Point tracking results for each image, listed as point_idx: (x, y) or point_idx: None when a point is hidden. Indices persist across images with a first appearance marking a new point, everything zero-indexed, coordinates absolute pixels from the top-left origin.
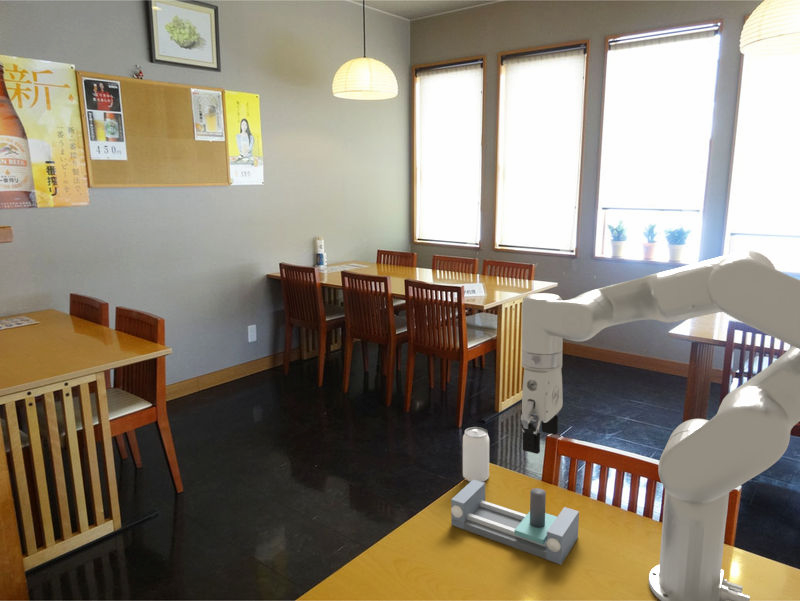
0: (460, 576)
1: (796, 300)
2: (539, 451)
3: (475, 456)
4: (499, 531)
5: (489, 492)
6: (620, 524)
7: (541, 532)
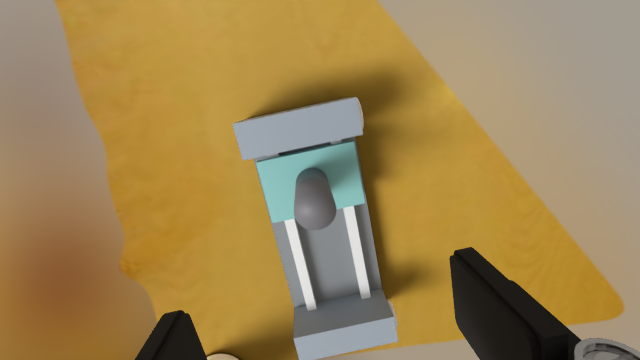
0: (486, 205)
1: None
2: (464, 251)
3: None
4: (358, 230)
5: (246, 323)
6: (128, 75)
7: (333, 159)
